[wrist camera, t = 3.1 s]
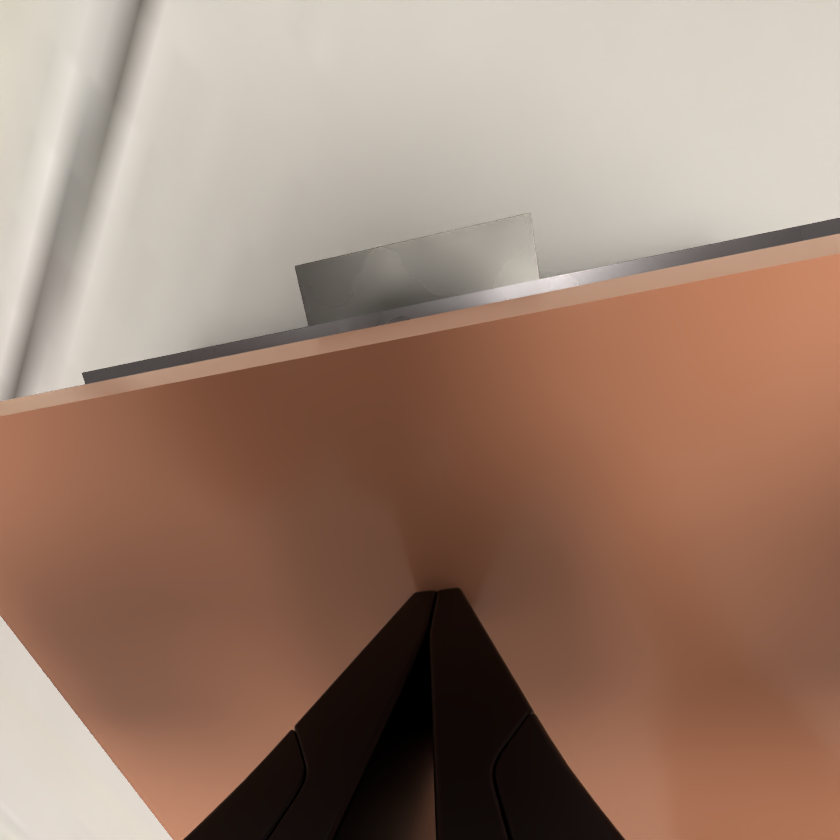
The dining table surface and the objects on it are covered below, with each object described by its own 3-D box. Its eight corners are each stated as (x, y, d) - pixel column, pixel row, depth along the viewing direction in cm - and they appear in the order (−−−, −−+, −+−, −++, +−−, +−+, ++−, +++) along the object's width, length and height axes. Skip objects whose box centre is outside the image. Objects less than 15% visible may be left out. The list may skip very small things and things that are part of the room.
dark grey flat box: (748, 692, 17) (853, 837, 12) (298, 722, 20) (241, 851, 15) (716, 195, 14) (844, 131, 9) (181, 313, 17) (61, 311, 12)
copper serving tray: (856, 842, 12) (894, 904, 11) (240, 855, 15) (223, 905, 14) (1048, 191, 6) (1174, 188, 5) (-62, 413, 9) (-134, 441, 8)
